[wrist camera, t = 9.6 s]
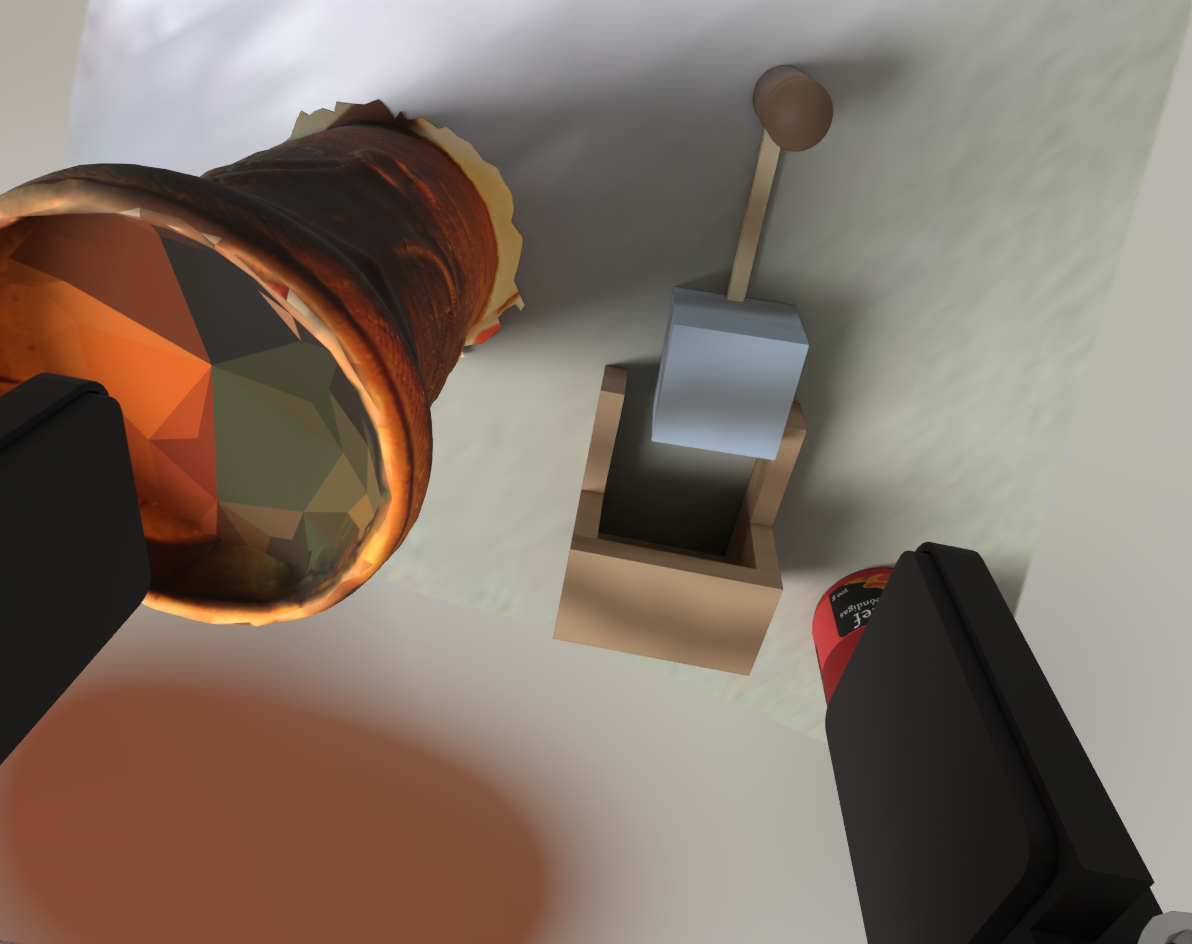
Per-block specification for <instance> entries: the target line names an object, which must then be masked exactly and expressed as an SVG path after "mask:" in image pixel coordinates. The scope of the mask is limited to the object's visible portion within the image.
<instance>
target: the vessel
mask: <svg viewBox="0 0 1192 944" xmlns="http://www.w3.org/2000/svg"><path fill="white" fill-rule="evenodd" d="M513 213H514V205H513V199H512V193H511V191H510V189H509V188H508V186H507V185H506V184H505V183H504V182H503V179H502V176H501V174H500V171H499V169H498V168H497V167H495V166H493V165H491V164H489V163H487V162H485V161H484V160H483V159H482V158H481V156H480V155H479V153H478V152H477V151H476V149H475V148H474V147H473V146H472V145H471V144H470V143H469V142H468V141H466V140H464V139H462V138H460V137H458V136H457V135H456V134H455V133H454V132H453V131H452V130H450V129H448V128H447V127H443V128H439V129H438V128H436V127H435V126H434V125H433V124H431V123H430V122H428V121H427V120H425V119H423V118H419V119H413V120H406V119H405V117H404V115H403V113H402V111H401V112H400V113H399V115H398V116H397V117H396V118H395V120H394V118H393V117H392V116H391V114H390V113H389V111H388V110H387V108H386V107H385V106H384V105H383V104H382V103H381V102H380V101H379V100H378V99H377V100H375V101H372V102H370V103H368V104H365V105H360V104H347V103H341V102H336V106H335V111H334V112H331V111H328V110H325V109H319V110H317V111H315V112H313V113H312V114H310V115H307V114H306V113H304V112H303V111H301V112H300V114H299V116H298V118H297V120H296V123H295V126H294V129H293V132H292V135H291V137H290V138H289V139H287V140H286V141H285V142H284V143H282V144H280V145H278V146H275V147H273V148H271V149H269V150H265V151H260V152H257V153H255V154H252V155H250V156H248V157H246V158H244V159H242V160H240V161H237V162H235V163H233V164H231V165H227V166H223V167H219V168H215V169H213V170H210V171H207V172H206V173H204V174H203V175H202V176H200V177H197V176H192V175H188V174H184V173H180V172H175V171H171V170H167V169H161V168H154V167H146V166H141V165H136V164H102V163H101V164H88V165H78V166H75V167H71V168H67V169H63V170H60V171H56V172H53V173H50V174H47V175H44V176H42V177H39V178H36V179H34V180H31V181H28V182H26V183H24V184H22V185H19V186H17V187H15V188H13V189H11V190H9V191H8V192H6V193H4V194H2V195H0V396H2V395H3V394H5V393H7V392H8V391H10V390H12V389H13V388H15V387H17V386H18V385H20V384H22V383H23V382H25V381H27V380H28V379H30V378H32V377H33V376H35V375H38V374H40V373H43V372H46V373H55V374H60V375H65V376H71V377H76V378H81V379H86V380H91V381H97V382H98V383H100V384H102V385H103V386H104V387H105V388H106V390H107V391H108V393H109V396H110V397H113V398H114V399H116V400H117V401H118V402H119V404H120V406H121V409H122V413H123V419H124V425H125V430H126V436H127V441H128V447H129V452H130V458H131V464H132V469H133V475H134V480H135V486H136V491H137V497H138V502H139V508H140V514H141V519H142V525H143V530H144V536H145V541H146V547H147V553H148V558H149V564H150V569H151V582H150V586H149V590H148V592H147V594H146V596H145V598H144V600H143V601H142V603H143V604H145V605H147V606H148V607H150V608H153V609H156V610H161V611H164V612H167V613H171V614H175V615H179V616H182V617H186V618H189V619H193V620H198V621H203V622H207V623H212V624H241V625H248V626H259V625H264V624H270V623H274V622H282V621H291V620H296V619H300V618H304V617H309V616H311V615H314V614H316V613H319V612H322V611H324V610H327V609H329V608H331V607H332V606H334V605H336V604H337V603H339V602H341V601H342V600H344V599H345V598H346V597H348V596H349V595H351V594H352V593H354V592H355V591H356V590H357V589H358V588H360V587H361V586H362V585H363V584H364V583H365V582H366V581H367V580H368V579H370V578H371V577H372V575H374V574H375V573H376V572H377V571H378V570H379V569H380V568H381V566H382V565H383V564H384V563H385V562H386V561H387V560H388V559H389V558H390V557H391V555H392V554H393V553H394V552H395V551H396V550H397V549H398V548H399V547H400V545H401V544H402V543H403V541H404V540H405V538H406V536H407V535H408V533H409V531H410V530H411V528H412V526H413V525H414V523H415V522H416V520H417V519H418V516H419V513H420V510H421V507H422V504H423V501H424V498H425V495H426V491H427V487H428V483H429V479H430V473H431V466H432V452H433V438H432V421H431V412H430V407H431V405H432V403H433V402H434V401H435V400H436V399H437V398H438V396H439V394H440V392H441V390H442V388H443V386H444V384H445V382H446V379H447V377H448V375H449V373H450V372H451V371H452V370H453V368H454V367H455V365H456V363H457V362H458V360H459V358H463V357H464V355H463V352H462V351H463V348H464V346H467V345H472V344H481V343H484V342H485V341H486V340H487V339H489V338H490V337H491V336H492V335H493V334H494V333H496V332H497V331H498V330H499V329H500V328H502V327H501V324H500V322H499V319H498V317H499V316H500V315H501V314H502V313H503V312H504V311H505V310H506V309H507V308H509V307H511V306H513V305H515V304H516V305H517V306H518V308H519V309H520V311H521V310H522V308H523V307H524V303H523V300H522V298H521V296H520V293H519V291H518V289H517V286H516V284H515V282H514V278H515V275H516V271H517V268H518V264H519V259H520V255H521V250H522V242H523V237H522V236H521V235H520V233H519V232H518V231H517V229H516V228H515V226H514V225H513V224H512V222H511V220H512V216H513Z"/></svg>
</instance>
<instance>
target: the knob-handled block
mask: <svg viewBox="0 0 1192 944" xmlns="http://www.w3.org/2000/svg"><path fill="white" fill-rule="evenodd" d="M753 106H754V110H755V112H756V114H757V116H758V118H759V119H760V121H761V123H762V124H763V126H764V132H763V136H762V141H761V145H760V150H759V154H758V159H757V163H756V167H755V172H754V176H753V181H752V185H751V189H750V194H749V198H748V203H747V207H746V212H745V216H744V220H743V225H742V229H741V234H740V238H739V242H738V247H737V251H736V256H735V260H734V265H733V269H732V273H731V278H730V282H729V287H728V291H727V295H725V294H718V293H712V292H705V291H699V290H692V289H686V288H680V287H674V292H673V297H672V303H671V308H670V313H669V319H668V324H667V329H666V335H665V340H664V345H663V351H662V356H661V361H660V367H659V372H658V377H657V382H656V388H655V393H654V407H653V424H652V441H654V442H661V443H667V444H674V445H680V446H686V447H693V448H699V449H706V450H712V451H718V452H725V453H731V454H738V455H744V456H750V457H757V458H763V459H770V460H775V459H776V456H777V452H778V449H779V446H780V442H781V439H782V435H783V432H784V429H785V425H786V422H787V419H788V415H789V412H790V408H791V405H792V402H793V398H794V395H795V392H796V388H797V385H798V382H799V378H800V375H801V371H802V368H803V365H804V361H805V358H806V355H807V351H808V348H809V343H808V340H807V337H806V335H805V332H804V329H803V326H802V324H801V321H800V318H799V315H798V313H797V310H796V307H795V305H789V304H783V303H776V302H770V301H764V300H757V299H751V298H745V295H746V291H747V286H748V282H749V278H750V274H751V270H752V266H753V261H754V257H755V253H756V249H757V245H758V241H759V236H760V232H761V228H762V224H763V220H764V216H765V211H766V207H767V203H768V199H769V195H770V191H771V186H772V182H773V178H774V174H775V170H776V166H777V161H778V157H779V153H780V149H781V148H782V149H785V150H787V151H794V152H796V151H804V150H807V149H809V148H811V147H813V146H815V145H816V144H817V143H819V142H820V141H821V140H822V139H823V137H824V136H825V135H826V133H827V132H828V130H829V128H830V125H831V122H832V118H833V105H832V101H831V98H830V96H829V94H828V93H827V91H826V90H825V89H824V88H823V87H822V86H821V85H819V84H818V83H816V82H815V81H814V80H812V79H811V78H809V77H808V76H807V75H805V74H804V73H802V72H801V71H800V70H798V69H797V68H795V67H792V66H788V65H781V66H776V67H774V68H772V69H770V70H768V71H767V72H765V73H764V74H763V75H762V76H761V78H760V79H759V80H758V82H757V84H756V86H755V89H754V92H753Z"/></svg>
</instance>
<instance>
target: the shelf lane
mask: <svg viewBox="0 0 1192 944" xmlns="http://www.w3.org/2000/svg"><path fill="white" fill-rule="evenodd" d="M627 374H628V370H627V369H622V368H617V367H611V366H605V371H604V376H603V382H602V387H601V392H600V397H599V402H598V407H597V413H596V418H595V423H594V428H593V433H592V438H591V444H590V449H589V454H588V459H587V464H586V469H585V475H584V480H583V485H582V490H581V495H580V500H579V506H578V511H577V516H576V521H575V526H574V531H573V537H572V542H571V547H570V552H569V557H568V563H567V568H566V573H565V578H564V584H563V589H562V594H561V599H560V604H559V610H558V615H557V620H556V625H555V631H554V636H553V639H556V640H562V641H568V642H572V643H578V644H584V645H588V646H593V647H599V648H604V649H609V650H614V651H620V652H625V653H630V654H636V655H641V656H646V657H651V658H657V659H662V660H667V661H672V662H678V663H683V664H688V665H694V666H699V667H704V668H709V669H715V670H720V671H725V672H731V673H736V674H741V675H746V676H749V675H750V672H751V670H752V667H753V665H754V662H755V660H756V657H757V655H758V652H759V650H760V647H761V645H762V642H763V640H764V637H765V635H766V632H767V629H768V627H769V624H770V622H771V619H772V617H773V614H774V612H775V609H776V607H777V604H778V602H779V599H780V597H781V594H782V592H783V586H782V580H781V575H780V569H779V563H778V557H777V552H776V546H775V540H774V534H773V529H772V525H773V523H774V520H775V517H776V514H777V512H778V509H779V506H780V503H781V501H782V498H783V495H784V492H785V490H786V487H787V484H788V481H789V479H790V476H791V473H792V470H793V468H794V465H795V462H796V459H797V457H798V454H799V451H800V448H801V446H802V443H803V440H804V437H805V435H806V432H807V429H806V425H805V422H804V418H803V415H802V411H801V408H800V404H799V403H796V402H792V405H791V408H790V412H789V415H788V419H787V422H786V425H785V429H784V432H783V435H782V439H781V442H780V446H779V449H778V452H777V456H776V459H775V460H770V459H763V458H757V460H756V463H755V466H754V469H753V472H752V475H751V478H750V481H749V484H748V487H747V490H746V493H745V496H744V499H743V502H742V505H741V508H740V511H739V514H738V517H737V520H736V523H735V526H734V529H733V532H732V535H731V538H730V542H729V545H728V548H727V551H726V554H725V557H724V556H719V555H713V554H708V553H703V552H698V551H693V550H687V549H682V548H677V547H672V546H666V545H661V544H656V543H651V542H646V541H640V540H635V539H630V538H625V537H620V536H614V535H609V534H604V533H599V532H598V529H599V523H600V516H601V509H602V502H603V495H604V490H605V485H606V481H607V476H608V471H609V467H610V462H611V457H612V453H613V448H614V443H615V438H616V434H617V429H618V424H619V420H620V415H621V410H622V406H623V401H624V396H625V389H626V382H627Z"/></svg>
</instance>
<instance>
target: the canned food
mask: <svg viewBox="0 0 1192 944" xmlns="http://www.w3.org/2000/svg"><path fill="white" fill-rule="evenodd" d="M892 571H893V569H889V568H877V569H869V570H864V571H860V572H857V573H854V574H852V575H849V576H847V577H845V578H843V579H842V580H840V581H838V582H837V583H836V584H834V585H833V586H832V587H831V588H829V589H828V590H827V592H826V593H825V594H824V595H823V596H822V598H821V599H820V601H819V603H818V605H817V607H816V611H815V614H814V619H813V625H812V634H813V639H814V644H815V648H816V653H817V658H818V663H819V668H820V673H821V678H822V683H823V688H824V693H825V698H826V703H827V707H828V704H829V701H830V699H831V697H832V694H833V692H834V690H835V688H836V686H837V684H838V682H839V680H840V678H841V676H842V674H843V672H844V670H845V668H846V666H847V664H848V662H849V660H850V658H851V655H852V653H853V651H854V649H855V647H856V645H857V643H858V641H859V639H860V637H861V635H862V633H863V631H864V629H865V627H866V625H867V623H868V621H869V619H870V616H871V614H872V612H873V610H874V608H875V606H876V604H877V602H878V600H879V598H880V596H881V594H882V592H883V590H884V588H885V586H886V584H887V582H888V580H889V577H890V575H891V573H892Z"/></svg>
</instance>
